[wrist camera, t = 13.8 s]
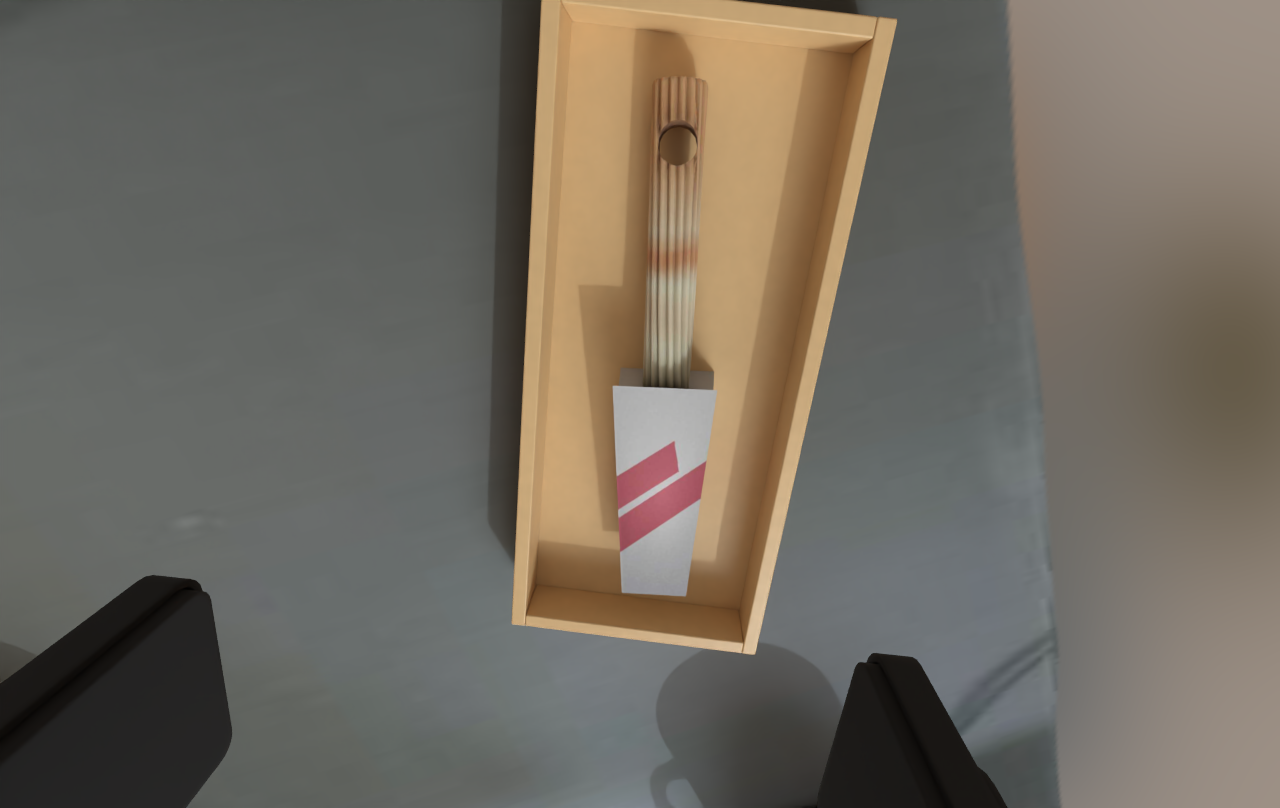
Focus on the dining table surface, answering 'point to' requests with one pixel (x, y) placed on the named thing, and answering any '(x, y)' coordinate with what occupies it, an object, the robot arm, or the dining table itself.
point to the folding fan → (666, 369)
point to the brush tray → (725, 288)
